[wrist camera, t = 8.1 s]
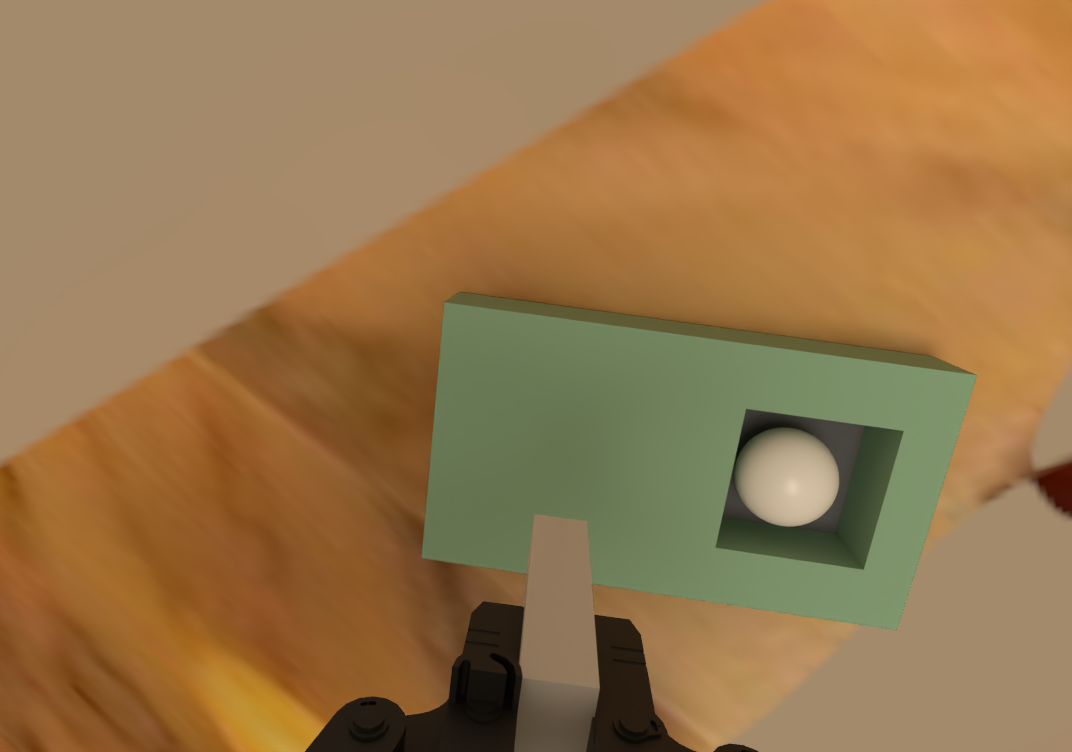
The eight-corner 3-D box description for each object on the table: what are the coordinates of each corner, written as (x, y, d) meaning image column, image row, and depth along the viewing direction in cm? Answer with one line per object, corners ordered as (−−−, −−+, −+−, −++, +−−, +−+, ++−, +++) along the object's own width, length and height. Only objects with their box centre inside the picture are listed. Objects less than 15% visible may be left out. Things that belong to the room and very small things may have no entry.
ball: (751, 490, 30) (708, 513, 27) (770, 408, 29) (728, 422, 26) (839, 527, 27) (802, 556, 24) (864, 438, 26) (829, 458, 23)
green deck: (437, 522, 31) (421, 558, 27) (460, 291, 28) (444, 302, 25) (864, 586, 30) (896, 630, 27) (931, 356, 27) (977, 375, 24)
